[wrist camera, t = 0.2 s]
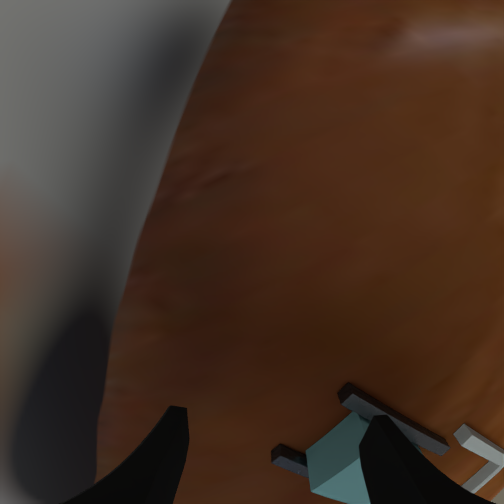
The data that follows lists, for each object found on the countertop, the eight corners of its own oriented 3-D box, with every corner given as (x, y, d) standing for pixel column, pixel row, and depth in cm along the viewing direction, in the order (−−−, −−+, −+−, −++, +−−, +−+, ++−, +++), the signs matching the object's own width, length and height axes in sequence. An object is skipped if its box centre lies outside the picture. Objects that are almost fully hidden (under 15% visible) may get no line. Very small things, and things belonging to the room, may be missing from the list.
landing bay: (426, 515, 25) (430, 525, 23) (365, 503, 24) (368, 516, 22) (504, 450, 23) (511, 459, 21) (463, 423, 22) (472, 434, 20)
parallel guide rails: (379, 491, 24) (382, 501, 22) (271, 450, 23) (271, 462, 21) (444, 438, 22) (450, 447, 21) (348, 382, 21) (352, 393, 20)
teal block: (369, 476, 24) (380, 511, 19) (305, 449, 23) (310, 491, 18) (414, 439, 23) (433, 474, 18) (355, 407, 22) (371, 448, 17)
